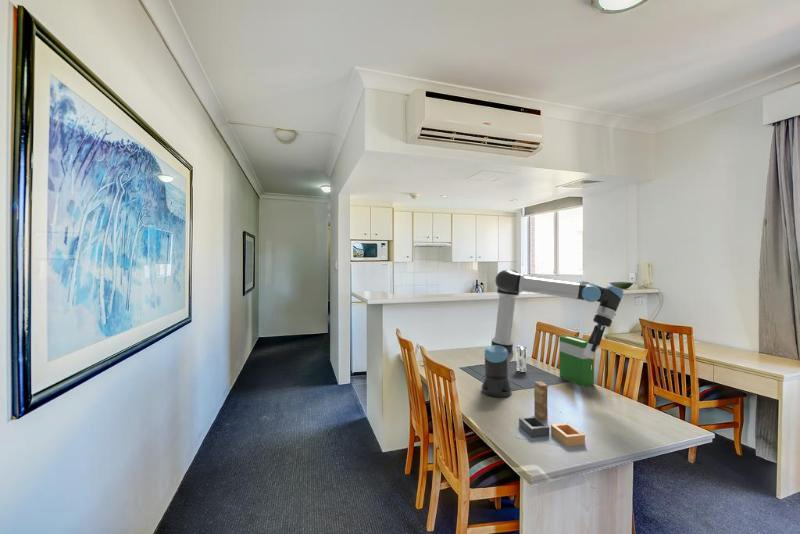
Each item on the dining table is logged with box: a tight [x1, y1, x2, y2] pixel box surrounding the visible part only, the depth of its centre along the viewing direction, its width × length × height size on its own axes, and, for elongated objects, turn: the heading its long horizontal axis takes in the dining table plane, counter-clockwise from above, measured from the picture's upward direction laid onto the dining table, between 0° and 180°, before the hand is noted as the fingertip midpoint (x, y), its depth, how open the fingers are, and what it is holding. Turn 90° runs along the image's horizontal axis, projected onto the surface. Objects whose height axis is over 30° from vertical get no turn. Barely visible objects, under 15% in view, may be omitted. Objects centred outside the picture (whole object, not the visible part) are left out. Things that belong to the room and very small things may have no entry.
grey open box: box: [518, 415, 550, 438], centre depth 133 cm, size 7×9×4 cm
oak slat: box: [533, 381, 549, 422], centre depth 144 cm, size 3×5×16 cm, turn 9°
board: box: [515, 423, 588, 452], centre depth 130 cm, size 24×14×1 cm, turn 66°
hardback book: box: [559, 334, 595, 387], centre depth 192 cm, size 18×7×24 cm, turn 15°
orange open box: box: [550, 422, 586, 446], centre depth 127 cm, size 7×9×4 cm
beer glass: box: [515, 345, 528, 372], centre depth 209 cm, size 7×7×15 cm
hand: (587, 357), depth 163 cm, fingers open, 13 cm apart
